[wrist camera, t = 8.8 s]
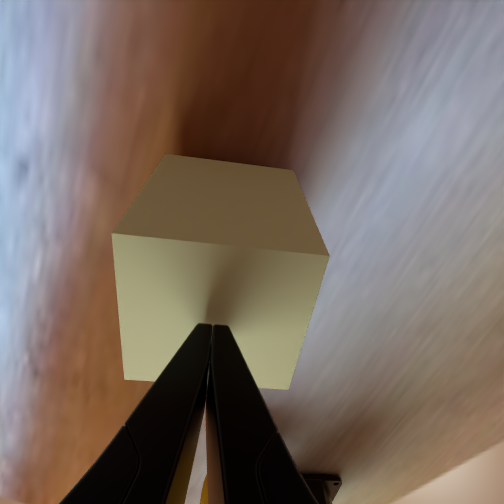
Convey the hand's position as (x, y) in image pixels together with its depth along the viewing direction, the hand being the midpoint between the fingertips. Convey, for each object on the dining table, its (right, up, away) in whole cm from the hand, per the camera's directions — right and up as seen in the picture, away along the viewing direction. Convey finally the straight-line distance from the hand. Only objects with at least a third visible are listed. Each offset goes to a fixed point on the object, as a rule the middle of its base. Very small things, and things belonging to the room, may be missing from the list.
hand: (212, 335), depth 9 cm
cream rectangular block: (0, +4, +6) cm, 7 cm away
